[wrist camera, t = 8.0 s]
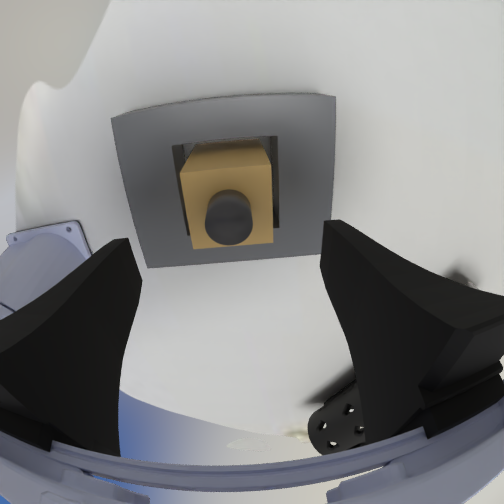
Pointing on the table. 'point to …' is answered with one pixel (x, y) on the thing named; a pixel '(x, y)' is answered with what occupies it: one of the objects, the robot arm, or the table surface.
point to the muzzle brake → (340, 420)
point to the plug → (228, 194)
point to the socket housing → (227, 127)
